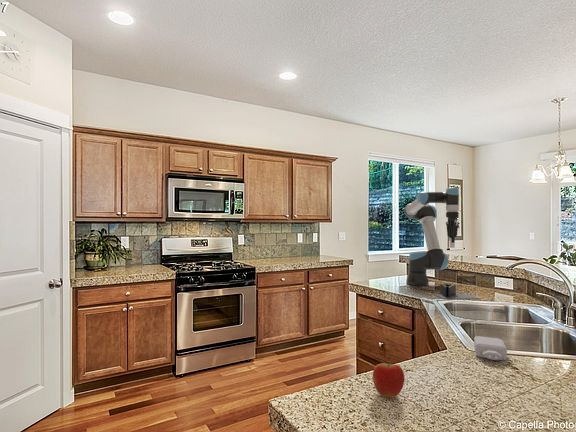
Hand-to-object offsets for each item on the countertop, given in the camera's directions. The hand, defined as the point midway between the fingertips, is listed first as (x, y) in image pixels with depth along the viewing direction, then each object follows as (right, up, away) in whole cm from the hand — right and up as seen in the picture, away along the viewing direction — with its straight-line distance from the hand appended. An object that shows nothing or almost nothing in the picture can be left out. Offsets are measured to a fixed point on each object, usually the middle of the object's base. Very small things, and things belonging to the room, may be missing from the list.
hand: (452, 247), depth 240 cm
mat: (-5, -28, -17) cm, 34 cm away
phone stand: (-7, -25, -10) cm, 28 cm away
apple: (-80, -27, -143) cm, 166 cm away
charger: (-38, -28, -114) cm, 124 cm away
